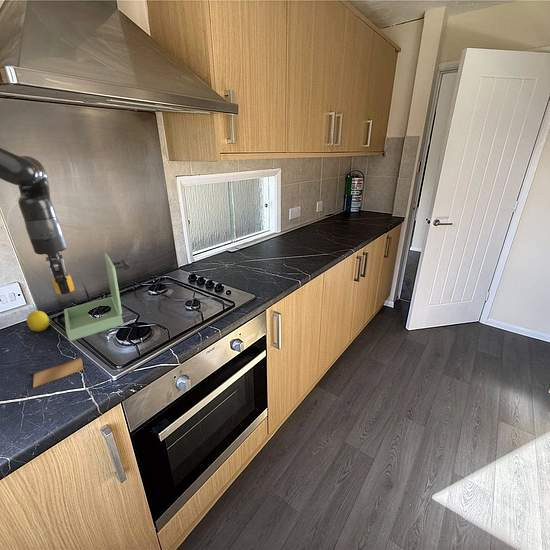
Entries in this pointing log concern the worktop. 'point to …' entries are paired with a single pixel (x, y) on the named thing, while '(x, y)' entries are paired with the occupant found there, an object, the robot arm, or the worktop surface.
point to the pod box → (90, 319)
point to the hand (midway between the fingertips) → (65, 289)
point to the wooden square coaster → (57, 372)
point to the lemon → (37, 321)
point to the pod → (69, 281)
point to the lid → (115, 279)
